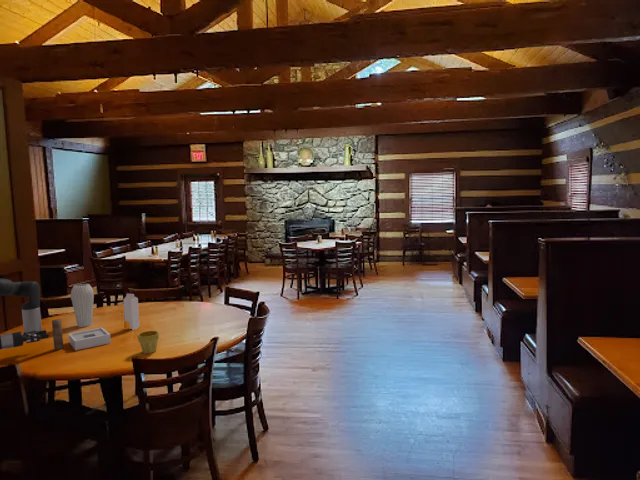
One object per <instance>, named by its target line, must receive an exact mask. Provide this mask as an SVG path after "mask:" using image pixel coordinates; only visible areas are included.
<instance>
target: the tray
mask: <svg viewBox="0 0 640 480" xmlns="http://www.w3.org/2000/svg"><path fill="white" fill-rule="evenodd" d="M67 335H68V342H69V344H70V345H71V347H72V348H73V349H74V350H75V351H79V350H83V349H84V350H85V349H89V348H93V347H94V348H95V347H97V346H98V347H99V346H102V345H108V344H111V343H112V340H111V337H112V336H111V333H110V332H108V330H106V329H105V328H103V327H98V328H93V329H92V328H91V329H87V330H81V331H76V332H71V333H68V334H67Z"/></svg>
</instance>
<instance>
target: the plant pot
mask: <svg viewBox="0 0 640 480" xmlns="http://www.w3.org/2000/svg"><path fill="white" fill-rule="evenodd" d="M159 333H160V332H159V331H157V330H146V331H142V332H140V333H138V334H137V340H138V341H137V342H139V344H140V347H141V351H142V353H143V354H146V353H147V354H153V353H156V351H157V347H158V340H159V339H160V334H159ZM152 352H153V353H152Z"/></svg>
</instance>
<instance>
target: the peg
mask: <svg viewBox="0 0 640 480" xmlns="http://www.w3.org/2000/svg"><path fill="white" fill-rule="evenodd" d="M51 327H52V338H53V348H54V351H60V350H63V349H64V347H65V346H64V338H63V327H62V319H61V318H58V319H57V318H56V319H52V320H51Z"/></svg>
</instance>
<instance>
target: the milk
mask: <svg viewBox="0 0 640 480" xmlns="http://www.w3.org/2000/svg"><path fill="white" fill-rule="evenodd" d="M122 301H123V312H124V322H125V321H127V322H129V324H130V326H131V329H132V330H131V331H135V330H137V328H138V329H140V328H141V327H140V326H141V325H140V324H141V323H140V310H139V298H138V297H137V296H135V294H134V293H126V295H125V297H124V298H123V299H122ZM139 327H140V328H139ZM134 329H135V330H134Z"/></svg>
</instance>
